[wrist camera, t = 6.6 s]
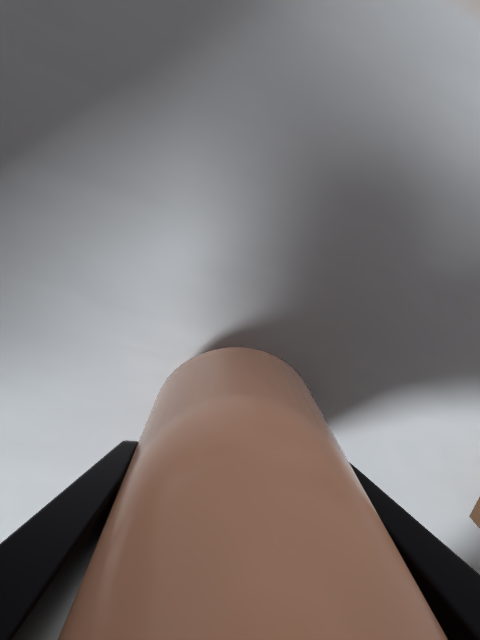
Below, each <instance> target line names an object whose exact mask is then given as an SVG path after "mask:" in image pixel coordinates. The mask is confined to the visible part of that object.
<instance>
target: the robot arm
mask: <svg viewBox="0 0 480 640" xmlns="http://www.w3.org/2000/svg"><path fill="white" fill-rule="evenodd" d="M137 445H138V442H137V441H123V442H121V443H120V444H119V445H117V446H116V447H115V448H114V449H113V450H111V451H110V452H109V453H108V454H107V455H106V456H104V457H103V458H102V459H101V460H100V461H98V462H97V463H96V464H95V465H94V466H92V467H91V468H90V469H89V470H88V471H86V472H85V473H84V474H83V475H82V476H80V477H79V478H78V479H77V480H76V481H75V482H73V483H72V484H71V485H70V486H69V487H67V488H66V489H65V490H64V491H63V492H61V493H60V494H59V495H58V496H57V497H55V498H54V499H53V500H52V501H51V502H50V503H48V504H47V505H46V506H45V507H44V508H42V509H41V510H40V511H39V512H38V513H36V514H35V515H34V516H33V517H32V518H30V519H29V520H28V521H27V522H26V523H24V524H23V525H22V526H21V527H20V528H19V529H17V530H16V531H15V532H14V533H13V534H11V535H10V536H9V537H8V538H7V539H5V540H4V541H3V542H2V543H1V544H0V640H58V638H59V636H60V633H61V631H62V628H63V626H64V623H65V621H66V618H67V616H68V614H69V611H70V609H71V606H72V604H73V601H74V599H75V596H76V594H77V591H78V589H79V587H80V584H81V582H82V579H83V577H84V574H85V572H86V569H87V567H88V565H89V562H90V560H91V557H92V555H93V552H94V550H95V547H96V545H97V543H98V540H99V538H100V535H101V533H102V530H103V528H104V525H105V523H106V521H107V518H108V516H109V513H110V511H111V508H112V506H113V503H114V501H115V499H116V496H117V494H118V491H119V489H120V486H121V484H122V481H123V479H124V476H125V474H126V472H127V469H128V467H129V464H130V462H131V459H132V457H133V454H134V452H135V450H136V447H137ZM349 463H350V462H349ZM350 465H351V467H352V469H353V471H354V472H355V474H356V476H357V478H358V480H359V481H360V483H361V485H362V487H363V489H364V490H365V492H366V494H367V496H368V497H369V499H370V501H371V503H372V505H373V506H374V508H375V510H376V512H377V514H378V515H379V517H380V519H381V521H382V523H383V524H384V526H385V528H386V530H387V531H388V533H389V535H390V537H391V539H392V540H393V542H394V544H395V546H396V548H397V549H398V551H399V553H400V555H401V557H402V558H403V560H404V562H405V564H406V566H407V567H408V569H409V571H410V573H411V574H412V576H413V578H414V580H415V582H416V583H417V585H418V587H419V589H420V591H421V592H422V594H423V596H424V598H425V600H426V601H427V603H428V605H429V607H430V609H431V610H432V612H433V614H434V616H435V617H436V619H437V621H438V623H439V625H440V626H441V628H442V630H443V632H444V634H445V635H446V637H447V639H448V640H480V575H479V574H478V573H477V572H476V571H475V570H473V569H472V568H471V567H470V566H469V565H468V564H466V563H465V562H464V561H463V560H462V559H461V558H460V557H458V556H457V555H456V554H455V553H454V552H453V551H451V550H450V549H449V548H448V547H447V546H446V545H444V544H443V543H442V542H441V541H440V540H439V539H438V538H436V537H435V536H434V535H433V534H432V533H431V532H429V531H428V530H427V529H426V528H425V527H424V526H422V525H421V524H420V523H419V522H418V521H417V520H416V519H414V518H413V517H412V516H411V515H410V514H409V513H407V512H406V511H405V510H404V509H403V508H402V507H401V506H399V505H398V504H397V503H396V502H395V501H394V500H392V499H391V498H390V497H389V496H388V495H387V494H385V493H384V492H383V491H382V490H381V489H380V488H379V487H377V486H376V485H375V484H374V483H373V482H372V481H370V480H369V479H368V478H367V477H366V476H365V475H364V474H362V473H361V472H360V471H359V470H358V469H357V468H355V467H354V466H353V465H352V464H351V463H350Z"/></svg>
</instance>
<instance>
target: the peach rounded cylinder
mask: <svg viewBox="0 0 480 640" xmlns="http://www.w3.org/2000/svg"><path fill="white" fill-rule="evenodd" d="M58 640H448V639H447V637H446V635H445V634H444V632H443V630H442V628H441V626H440V625H439V623H438V621H437V619H436V617H435V616H434V614H433V612H432V610H431V609H430V607H429V605H428V603H427V601H426V600H425V598H424V596H423V594H422V592H421V591H420V589H419V587H418V585H417V583H416V582H415V580H414V578H413V576H412V574H411V573H410V571H409V569H408V567H407V566H406V564H405V562H404V560H403V558H402V557H401V555H400V553H399V551H398V549H397V548H396V546H395V544H394V542H393V540H392V539H391V537H390V535H389V533H388V531H387V530H386V528H385V526H384V524H383V523H382V521H381V519H380V517H379V515H378V514H377V512H376V510H375V508H374V506H373V505H372V503H371V501H370V499H369V497H368V496H367V494H366V492H365V490H364V489H363V487H362V485H361V483H360V481H359V480H358V478H357V476H356V474H355V472H354V471H353V469H352V467H351V465H350V463H349V462H348V460H347V458H346V456H345V454H344V453H343V451H342V449H341V447H340V446H339V444H338V442H337V440H336V438H335V437H334V435H333V433H332V431H331V429H330V428H329V426H328V424H327V422H326V420H325V419H324V417H323V415H322V413H321V411H320V410H319V408H318V406H317V404H316V403H315V401H314V399H313V397H312V395H311V394H310V392H309V390H308V388H307V386H306V385H305V383H304V381H303V380H302V378H301V377H300V376H299V374H298V373H297V372H296V371H295V370H294V369H293V368H292V367H291V366H289V365H288V364H287V363H286V362H284V361H283V360H281V359H280V358H278V357H276V356H274V355H272V354H269V353H267V352H264V351H260V350H257V349H251V348H244V347H229V348H220V349H215V350H211V351H208V352H205V353H202V354H200V355H198V356H195V357H193V358H191V359H190V360H188V361H187V362H185V363H183V364H182V365H181V366H180V367H178V368H177V369H176V370H175V371H174V372H173V373H172V374H171V375H170V376H169V377H168V378H167V380H166V381H165V383H164V384H163V386H162V387H161V389H160V392H159V394H158V396H157V398H156V401H155V403H154V406H153V408H152V410H151V413H150V415H149V418H148V420H147V423H146V425H145V428H144V430H143V432H142V435H141V437H140V440H139V442H138V445H137V447H136V450H135V452H134V454H133V457H132V459H131V462H130V464H129V467H128V469H127V472H126V474H125V476H124V479H123V481H122V484H121V486H120V489H119V491H118V494H117V496H116V499H115V501H114V503H113V506H112V508H111V511H110V513H109V516H108V518H107V521H106V523H105V525H104V528H103V530H102V533H101V535H100V538H99V540H98V543H97V545H96V547H95V550H94V552H93V555H92V557H91V560H90V562H89V565H88V567H87V569H86V572H85V574H84V577H83V579H82V582H81V584H80V587H79V589H78V591H77V594H76V596H75V599H74V601H73V604H72V606H71V609H70V611H69V614H68V616H67V618H66V621H65V623H64V626H63V628H62V631H61V633H60V636H59V638H58Z"/></svg>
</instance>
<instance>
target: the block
mask: <svg viewBox="0 0 480 640" xmlns="http://www.w3.org/2000/svg"><path fill="white" fill-rule="evenodd" d="M469 517H470V518H471V519H472V520H473V521H474V522H475V523H476V525H477V526H478V527H479V528H480V497H479V499H478V501H477V503H476V505H475V507H474V509H473V511H472V513H471V514H470V516H469Z"/></svg>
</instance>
